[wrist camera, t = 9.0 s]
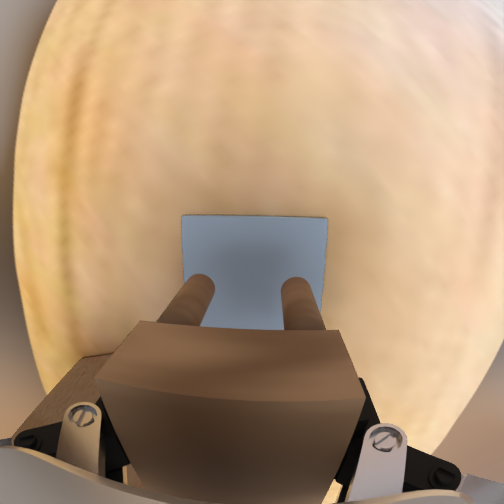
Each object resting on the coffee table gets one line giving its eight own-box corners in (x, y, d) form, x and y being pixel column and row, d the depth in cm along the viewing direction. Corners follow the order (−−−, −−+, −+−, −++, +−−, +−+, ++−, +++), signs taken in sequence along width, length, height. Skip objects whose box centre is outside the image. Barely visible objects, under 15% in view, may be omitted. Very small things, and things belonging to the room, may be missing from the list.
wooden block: (79, 356, 24) (-33, 489, 5) (157, 343, 23) (39, 547, 4) (126, 425, 26) (60, 559, 7) (202, 422, 25) (157, 598, 6)
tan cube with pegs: (314, 275, 13) (366, 397, 5) (302, 379, 14) (318, 508, 7) (183, 271, 13) (94, 377, 5) (192, 373, 15) (148, 494, 7)
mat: (314, 343, 22) (315, 347, 21) (190, 339, 23) (188, 342, 22) (326, 217, 20) (328, 219, 19) (183, 214, 20) (181, 215, 20)
